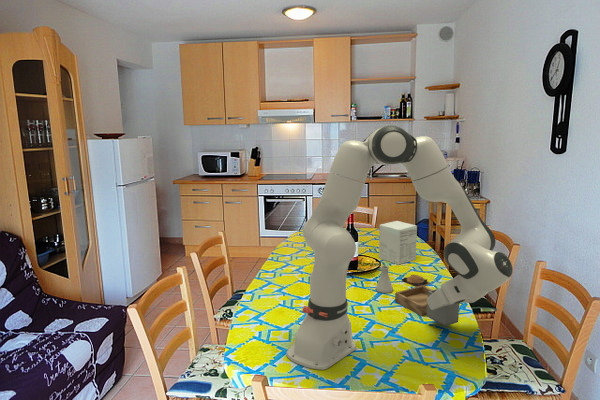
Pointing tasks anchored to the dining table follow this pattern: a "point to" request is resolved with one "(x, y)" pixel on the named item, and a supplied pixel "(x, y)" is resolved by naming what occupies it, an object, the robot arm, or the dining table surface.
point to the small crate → (444, 313)
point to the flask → (384, 281)
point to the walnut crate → (414, 299)
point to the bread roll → (416, 280)
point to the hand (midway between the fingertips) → (441, 304)
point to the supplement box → (397, 242)
